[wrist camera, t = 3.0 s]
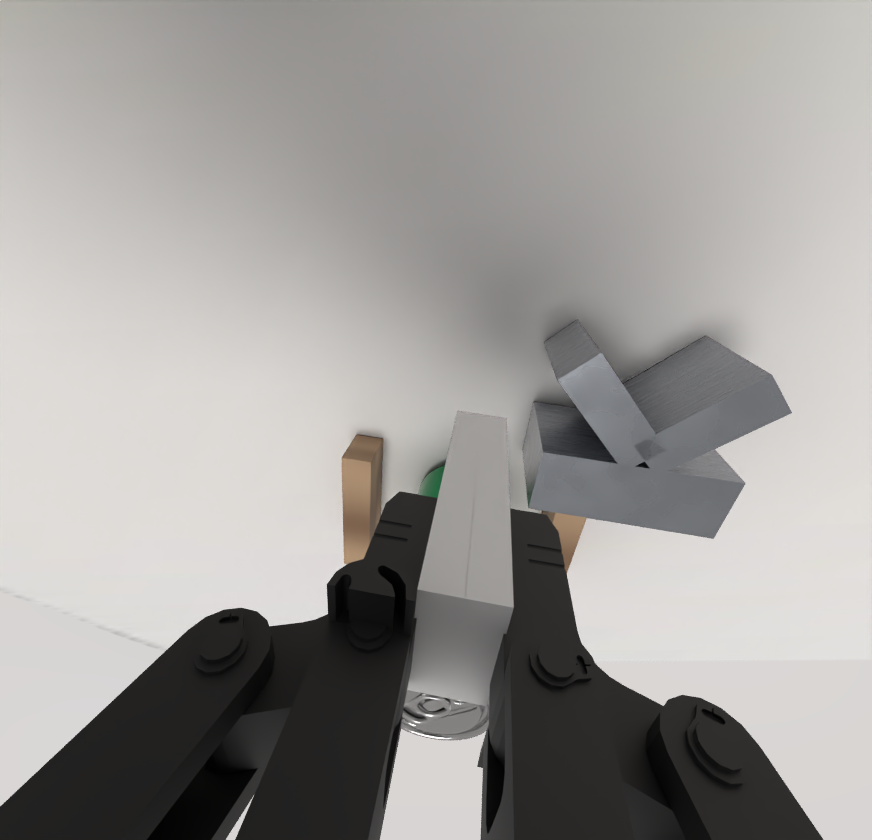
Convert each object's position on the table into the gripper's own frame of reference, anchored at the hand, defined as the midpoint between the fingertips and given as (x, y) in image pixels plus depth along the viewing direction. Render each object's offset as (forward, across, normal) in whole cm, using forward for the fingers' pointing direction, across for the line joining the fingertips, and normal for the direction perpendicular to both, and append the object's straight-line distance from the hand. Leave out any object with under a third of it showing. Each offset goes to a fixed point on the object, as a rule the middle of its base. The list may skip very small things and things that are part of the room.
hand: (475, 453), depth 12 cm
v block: (+9, +7, +2) cm, 11 cm away
